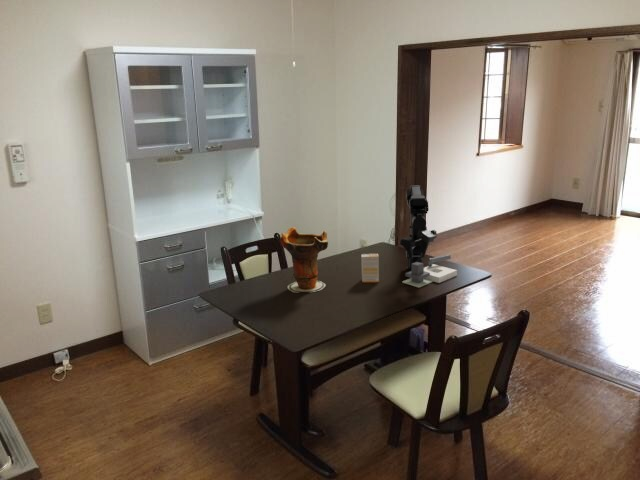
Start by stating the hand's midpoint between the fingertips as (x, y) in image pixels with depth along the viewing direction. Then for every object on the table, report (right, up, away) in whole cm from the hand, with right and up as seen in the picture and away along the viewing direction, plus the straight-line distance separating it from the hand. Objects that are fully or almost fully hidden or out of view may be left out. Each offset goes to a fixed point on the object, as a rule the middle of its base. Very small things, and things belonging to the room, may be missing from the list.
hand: (417, 256), depth 252 cm
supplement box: (-21, -12, +9) cm, 26 cm away
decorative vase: (-52, -14, +5) cm, 54 cm away
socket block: (+11, -10, +11) cm, 18 cm away
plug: (+1, -12, +3) cm, 12 cm away
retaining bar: (+14, -4, +19) cm, 24 cm away
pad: (+1, -12, +4) cm, 13 cm away
